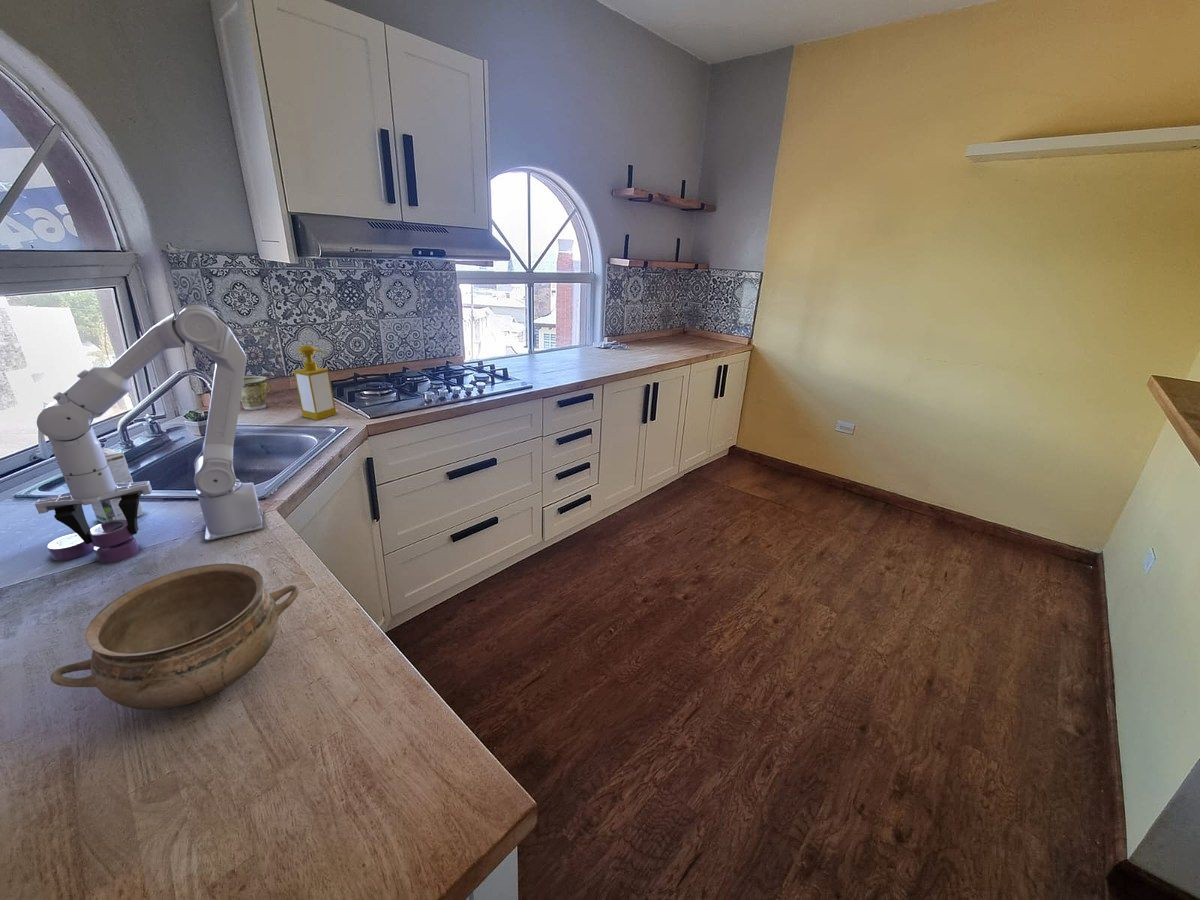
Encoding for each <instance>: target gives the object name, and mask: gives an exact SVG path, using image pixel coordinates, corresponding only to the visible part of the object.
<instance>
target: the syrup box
mask: <svg viewBox="0 0 1200 900" xmlns="http://www.w3.org/2000/svg"><path fill="white" fill-rule="evenodd" d="M102 450H103V453H104V455H105V458H106V460H107V463H108V466H109V468H110V471H111V474H112V476H113V479H114V481H115V484H118V483H133V482H134V480H133V478H132V474H131V472H130V469H129V465H128V462H127V460H126V457H125V453H124V452H123V451H119V450H116V449H115V450H114V449H112V448H107V447H106V448H102ZM120 500H121V498H117V499H112V500H106V501H100V502H98V503H95V504H90V505H91V508H92V510H93V513H94V515H95V518H96V520H97V521H98V522H101V523H105V522H108V521H113V520H126V518H125V516H124V514H123V512H122V510H121V509H120V507H119V505H118V504H119V502H120ZM143 515H144V510H143V508H142V504H141V501H140V500H139V505H138V511H137V518H138V517H140V516H143Z"/></svg>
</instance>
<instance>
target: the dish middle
mask: <svg viewBox="0 0 1200 900" xmlns="http://www.w3.org/2000/svg"><path fill="white" fill-rule="evenodd" d="M88 535H89V537H90V539H91V542H92V544H93V546H95V547H109V546H113V545H117V544H120V543H123V542H125V541H127V540H129V539H130V538H132V537H133V536H134V535H135V534H133V535H132V534H131V532H130V530H129V527H128V523H127V520H113V521H108V522H105V523H103V522H101V523H99V524H97V525H94V526H92V527H91V528H90V530H89V531H88Z"/></svg>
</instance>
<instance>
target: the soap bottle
mask: <svg viewBox="0 0 1200 900" xmlns="http://www.w3.org/2000/svg"><path fill="white" fill-rule="evenodd" d="M297 351H298V352H300V354H301V356H305V361H304V362H303V367H304V368H300V369H294V370H293V376H294V379H295V385H296V389H297V390H296V391H297V394H298V400H299V405H300V409H301V415H302V417H303V418H307V419H312V420H316V421H319V420H322V419H326V418H329V417H331V416H335V415H337V409H336V403H335V399H334V392H333V387H332V381H331V377H330V376H331V375H330V371H329V368H324V367H319V366H318V365H317V361H315V360H313V358H312V356H313V355H316V353H315V352H319V353H322V354H324V355H328V353H327V352H326V351H323V350H321V349H317V348H316V347H315V346H313V345H308V344H307V345H303V346H300V347H298V349H297Z"/></svg>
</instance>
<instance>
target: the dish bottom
mask: <svg viewBox="0 0 1200 900" xmlns="http://www.w3.org/2000/svg"><path fill="white" fill-rule="evenodd" d="M139 549H140V547H139V545H138V542H137V540H136V537H135V536H134V535H133V537H132V538H130V539H129V540H127V541H125V542H123V543H120V544H117V545H113V546H109V547H95V546H94V549H93V551H94V553H95V554H94V555H95V557H96V558H97V560H98V563H101V564H110V563H116V562H121V561H123V560H126V559H129V558H131V557H132V556H134V555H136V554H137V553H138V552H139Z"/></svg>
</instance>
